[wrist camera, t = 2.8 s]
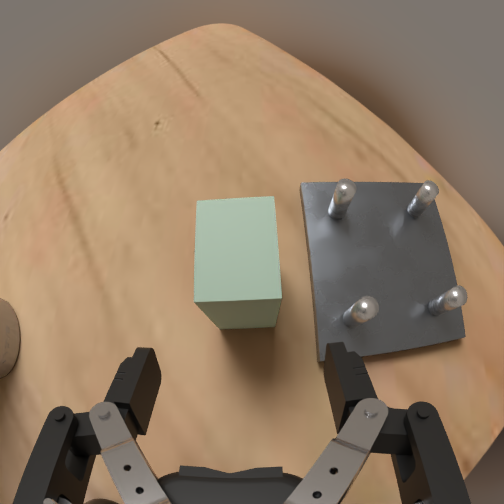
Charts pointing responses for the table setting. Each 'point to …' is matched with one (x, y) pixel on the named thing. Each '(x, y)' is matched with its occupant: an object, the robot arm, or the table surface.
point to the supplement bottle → (100, 501)
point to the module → (237, 262)
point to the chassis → (379, 267)
